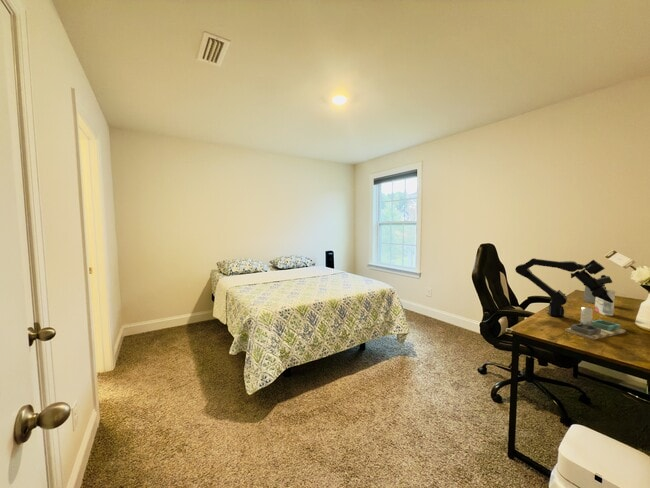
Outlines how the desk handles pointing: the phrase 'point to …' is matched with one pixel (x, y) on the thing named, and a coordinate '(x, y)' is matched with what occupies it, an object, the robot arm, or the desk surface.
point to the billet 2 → (607, 305)
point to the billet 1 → (586, 318)
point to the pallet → (596, 329)
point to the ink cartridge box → (600, 306)
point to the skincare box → (589, 295)
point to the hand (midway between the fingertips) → (612, 301)
